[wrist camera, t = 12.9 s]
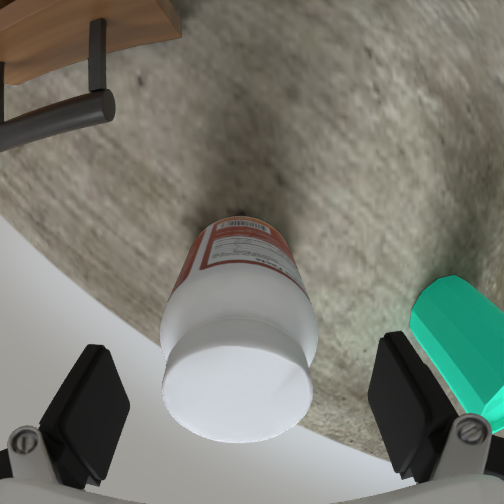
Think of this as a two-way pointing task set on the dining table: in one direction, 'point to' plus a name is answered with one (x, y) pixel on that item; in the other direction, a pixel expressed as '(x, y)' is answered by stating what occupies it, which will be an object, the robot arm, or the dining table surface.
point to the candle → (464, 344)
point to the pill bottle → (238, 335)
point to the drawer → (72, 55)
